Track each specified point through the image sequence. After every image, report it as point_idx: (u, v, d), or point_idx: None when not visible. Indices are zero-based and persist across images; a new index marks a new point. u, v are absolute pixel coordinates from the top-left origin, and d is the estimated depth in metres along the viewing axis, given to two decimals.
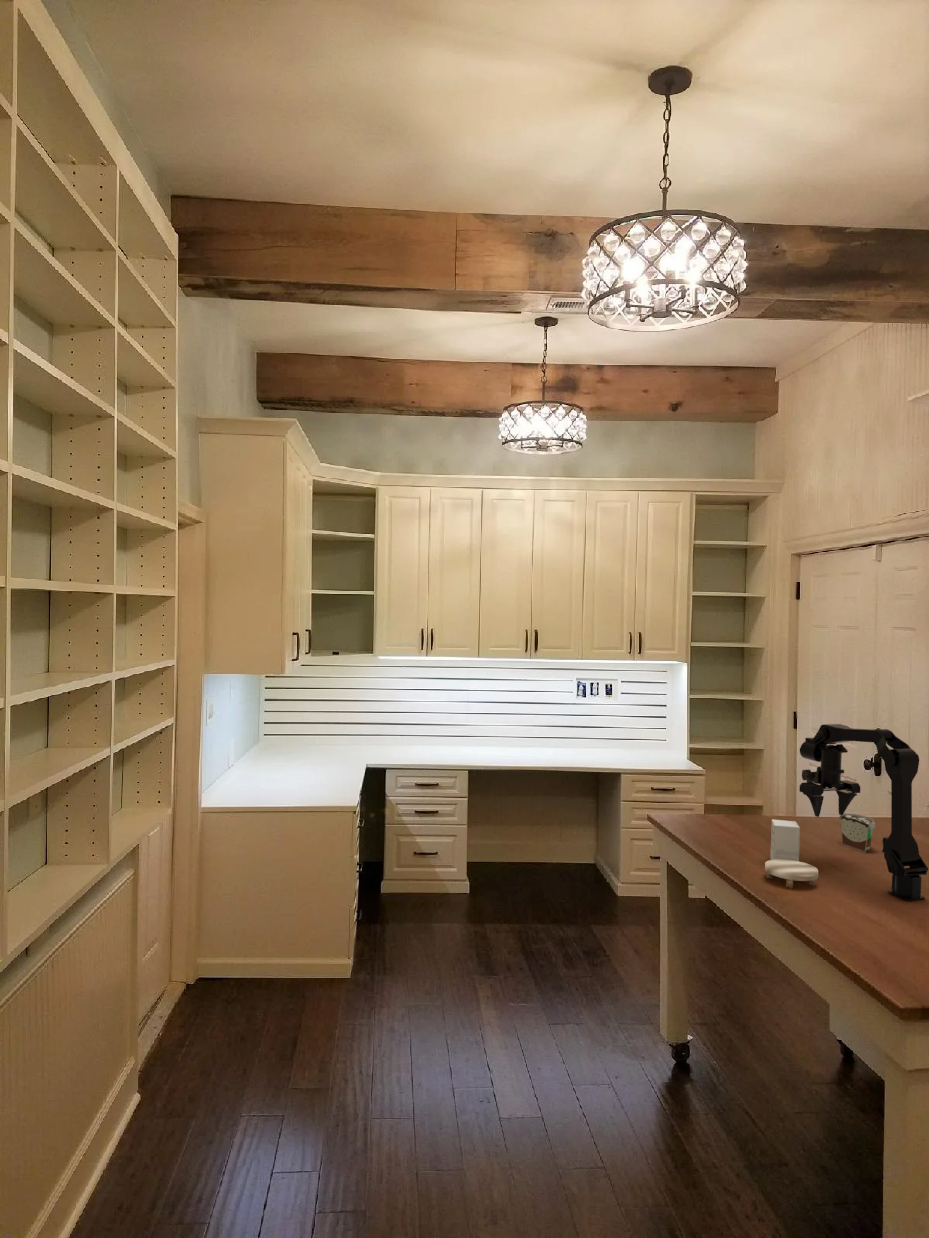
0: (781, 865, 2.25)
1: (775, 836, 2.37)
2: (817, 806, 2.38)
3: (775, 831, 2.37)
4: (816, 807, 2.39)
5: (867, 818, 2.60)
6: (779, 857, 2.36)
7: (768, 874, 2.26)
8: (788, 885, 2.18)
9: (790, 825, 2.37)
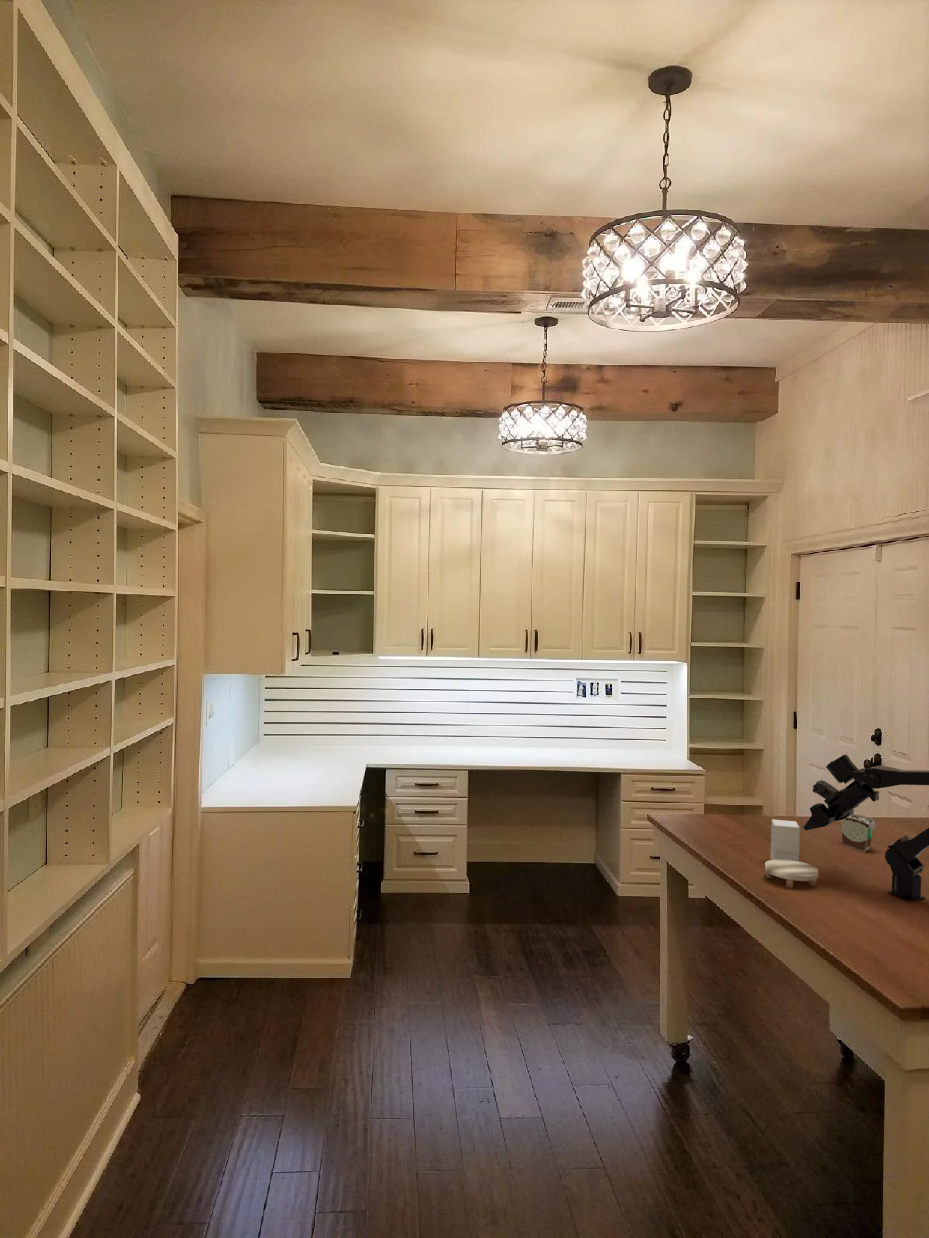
0: (781, 865, 2.25)
1: (775, 836, 2.37)
2: (813, 826, 2.27)
3: (775, 831, 2.37)
4: (812, 826, 2.28)
5: (867, 818, 2.60)
6: (779, 857, 2.36)
7: (768, 874, 2.26)
8: (788, 885, 2.18)
9: (790, 825, 2.37)
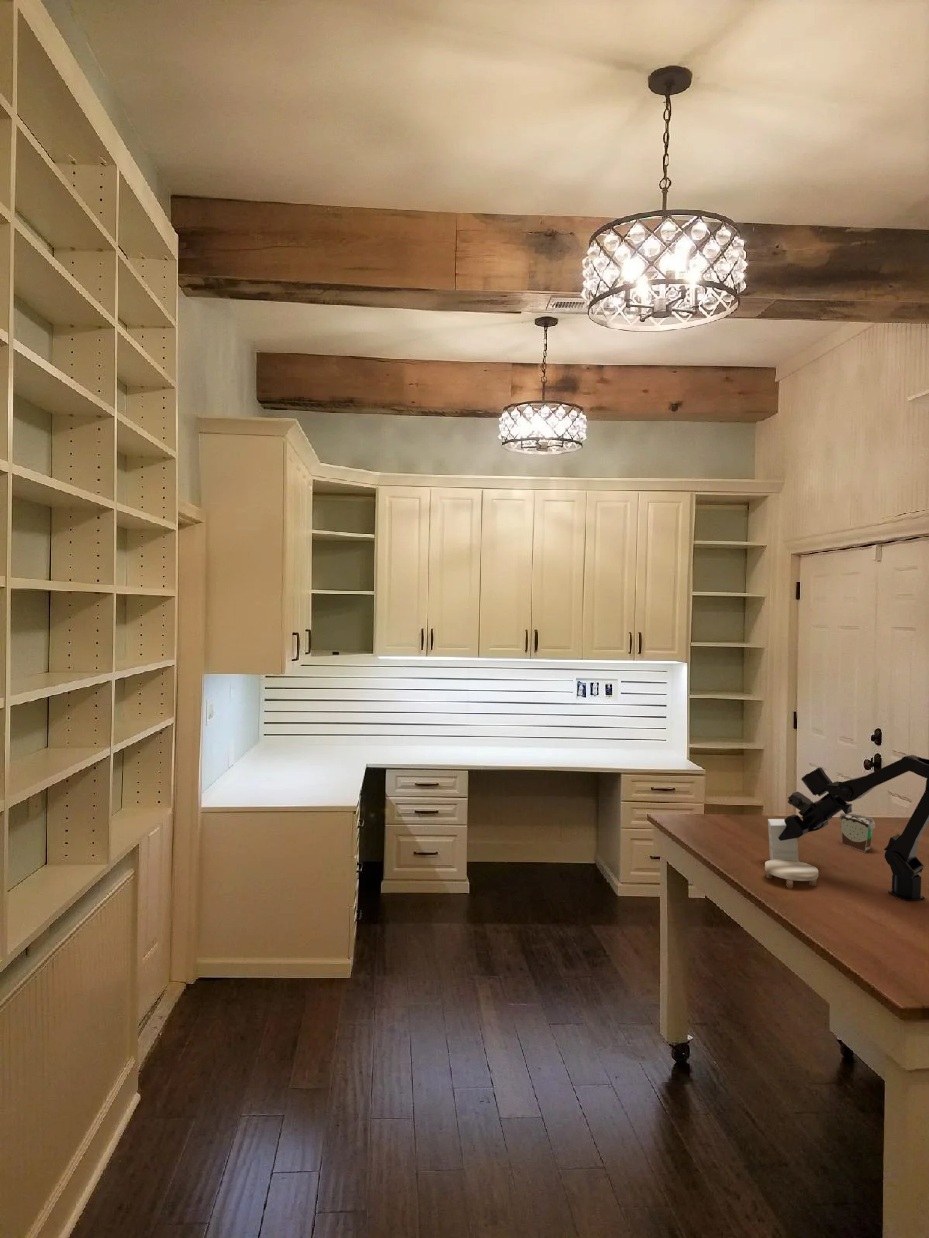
0: (781, 865, 2.25)
1: (773, 836, 2.37)
2: (788, 837, 2.33)
3: (772, 831, 2.37)
4: (786, 836, 2.33)
5: (867, 818, 2.60)
6: (779, 856, 2.36)
7: (768, 874, 2.26)
8: (788, 885, 2.18)
9: None
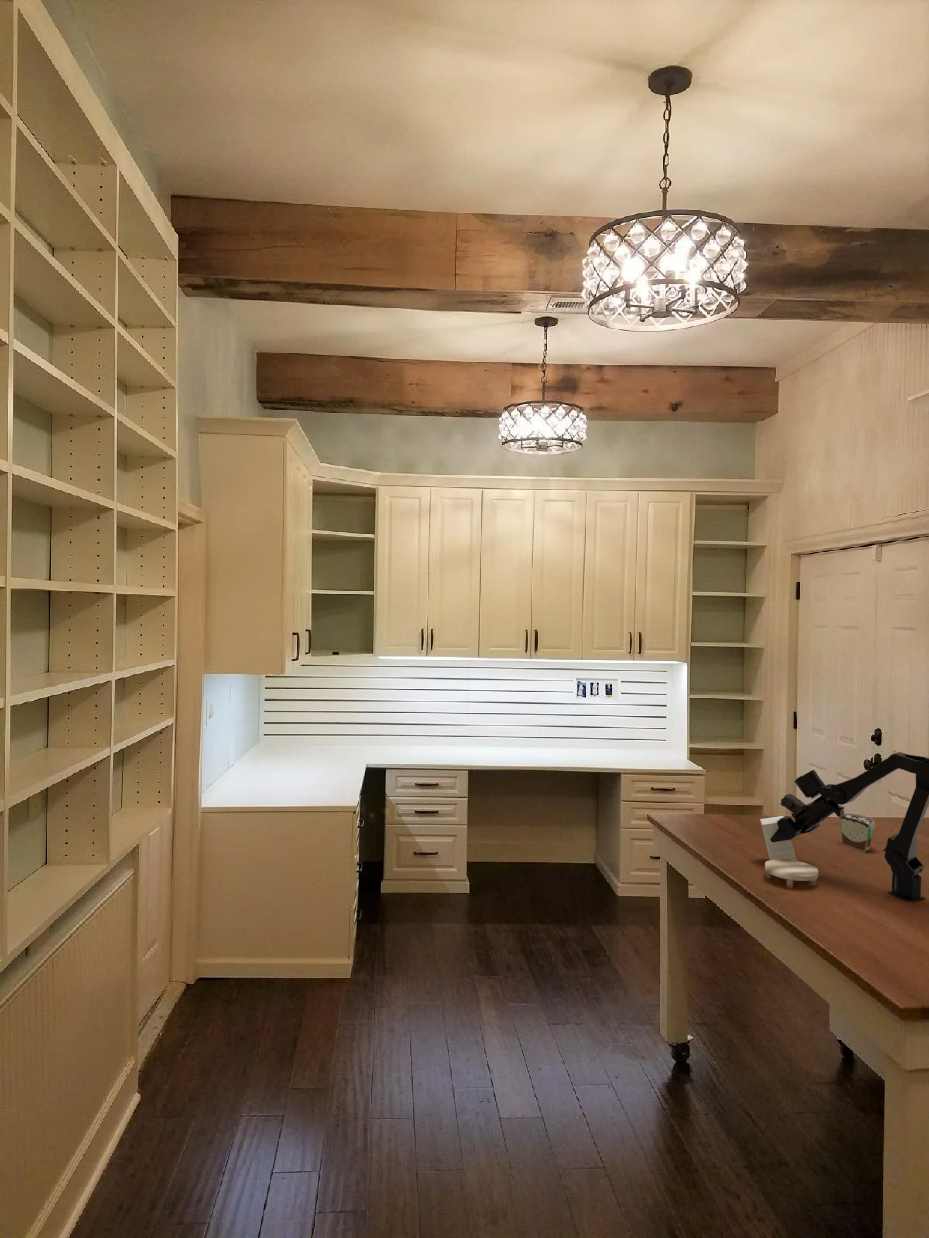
0: (781, 865, 2.25)
1: (766, 835, 2.38)
2: (780, 838, 2.34)
3: (764, 830, 2.38)
4: (778, 838, 2.34)
5: (867, 818, 2.60)
6: (775, 855, 2.37)
7: (768, 874, 2.26)
8: (788, 885, 2.18)
9: None
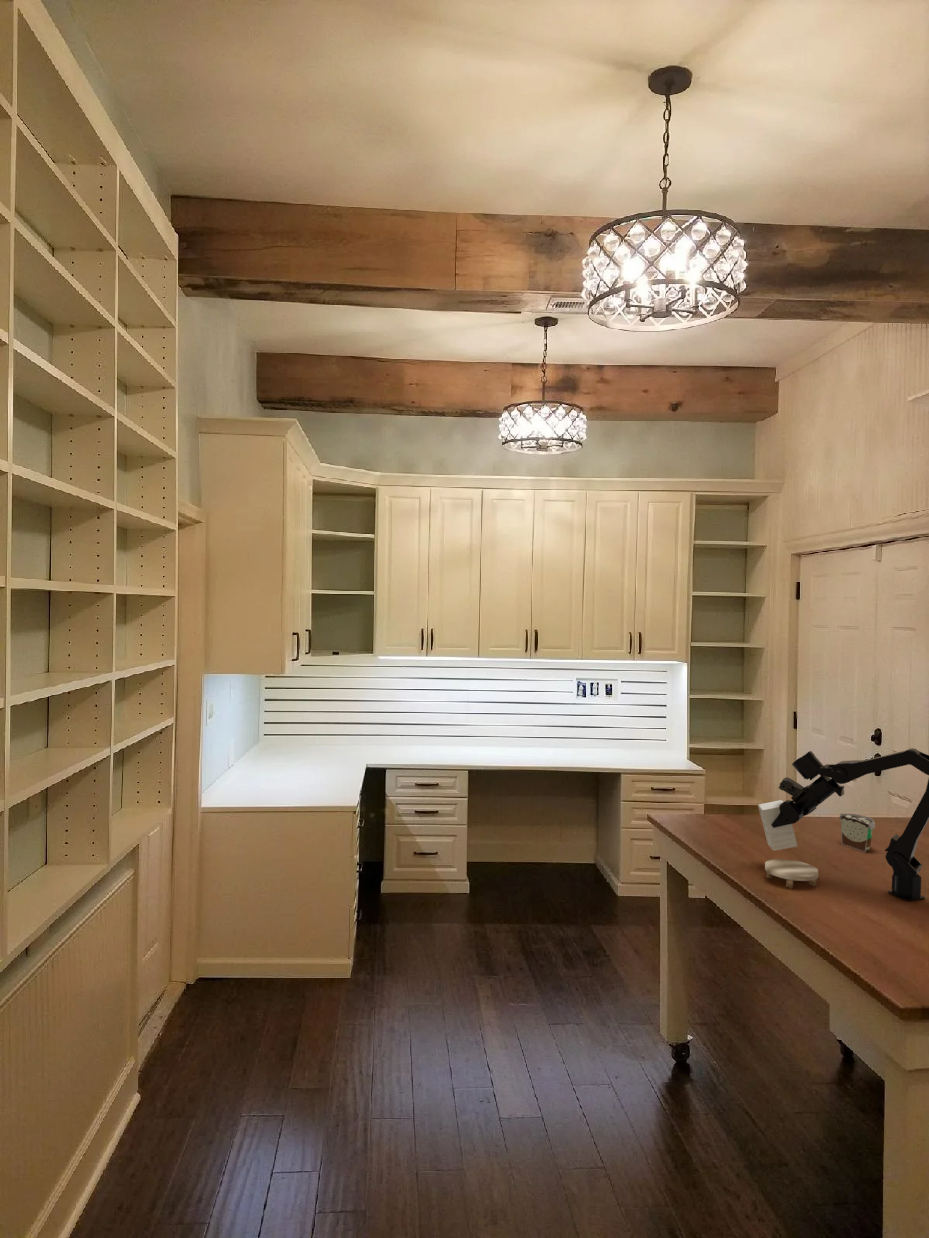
0: (781, 865, 2.25)
1: (767, 820, 2.33)
2: (782, 823, 2.30)
3: (765, 815, 2.33)
4: (780, 823, 2.30)
5: (867, 818, 2.60)
6: (776, 840, 2.33)
7: (768, 874, 2.26)
8: (788, 885, 2.18)
9: (777, 805, 2.34)
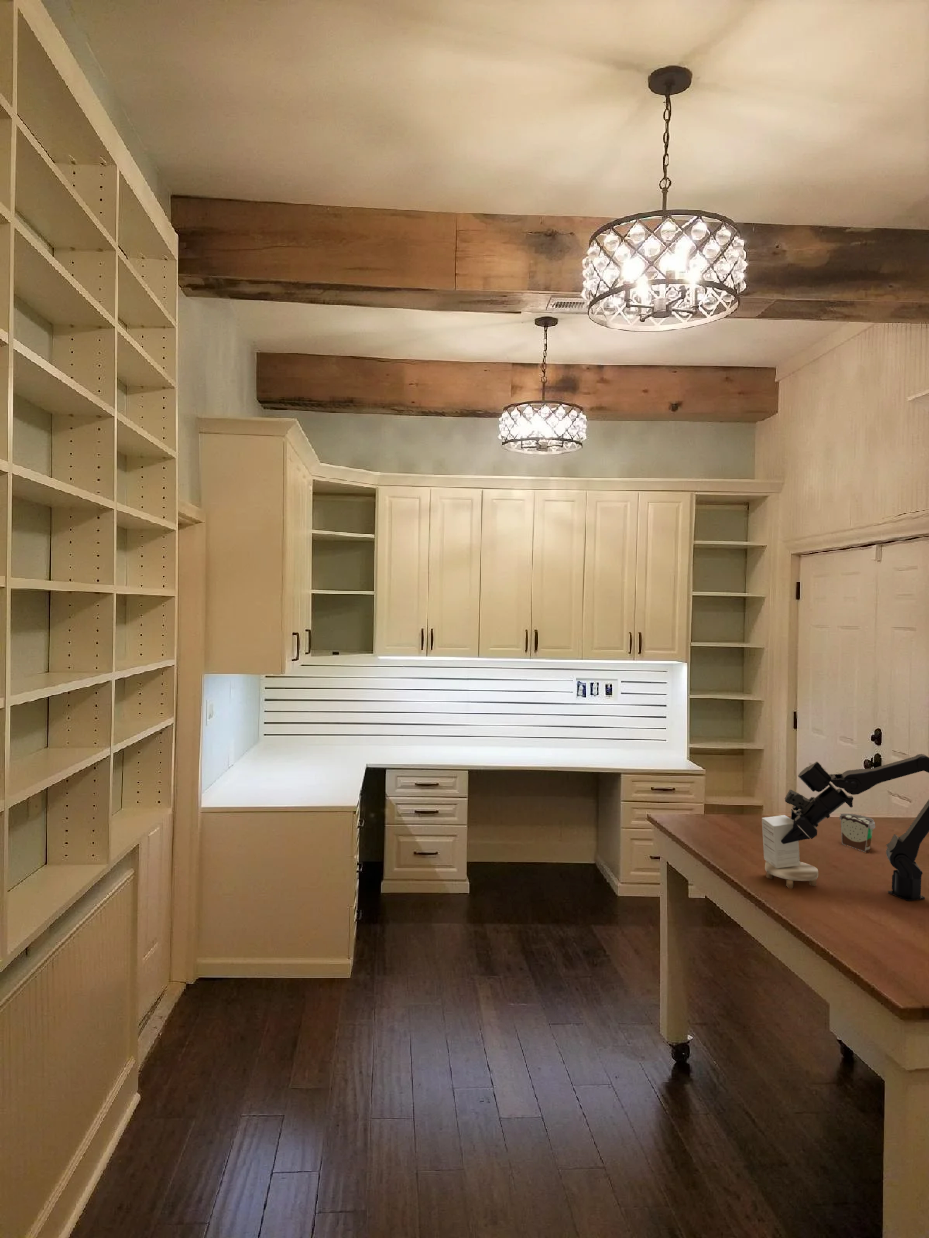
0: None
1: (776, 837, 2.21)
2: (794, 839, 2.19)
3: (775, 832, 2.21)
4: (792, 839, 2.19)
5: (867, 818, 2.60)
6: (781, 858, 2.22)
7: (768, 874, 2.26)
8: (788, 885, 2.18)
9: (787, 822, 2.23)
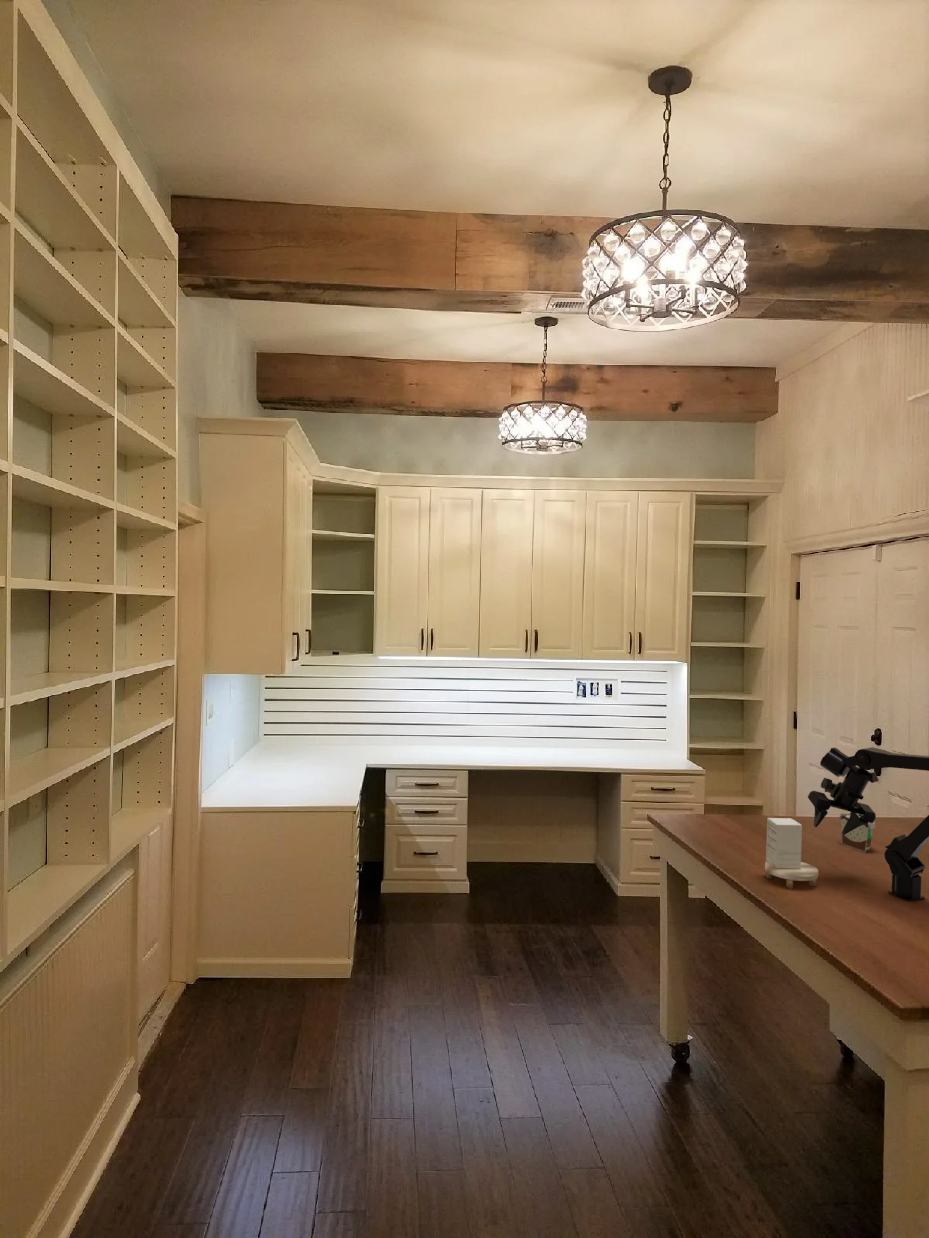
0: None
1: (778, 836, 2.22)
2: (817, 818, 2.29)
3: (778, 831, 2.22)
4: (817, 818, 2.29)
5: None
6: (782, 858, 2.22)
7: (768, 874, 2.26)
8: (788, 885, 2.18)
9: (791, 823, 2.24)
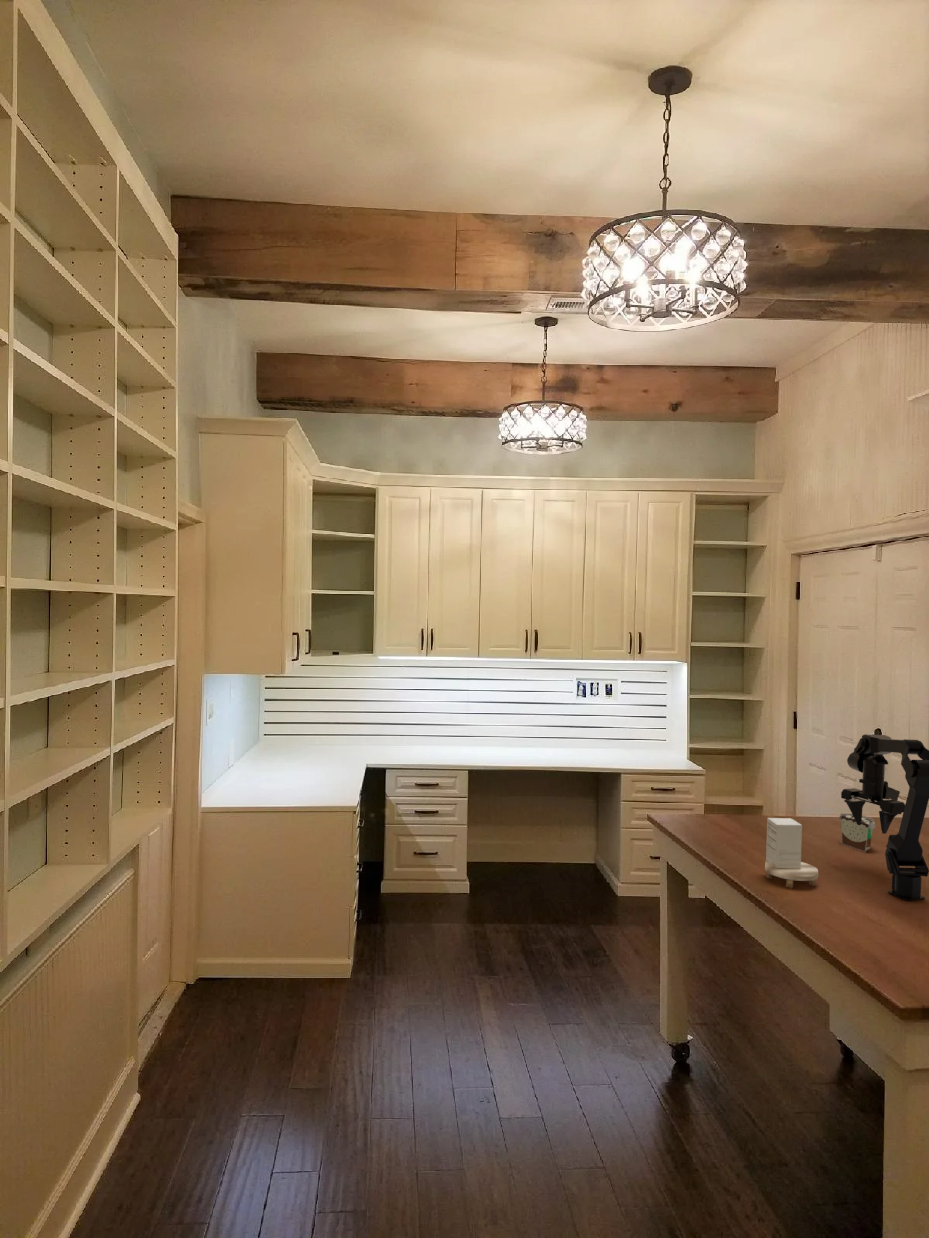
0: None
1: (778, 836, 2.22)
2: None
3: (778, 831, 2.22)
4: None
5: (867, 818, 2.60)
6: (782, 858, 2.22)
7: (768, 874, 2.26)
8: (788, 885, 2.18)
9: (791, 823, 2.24)
